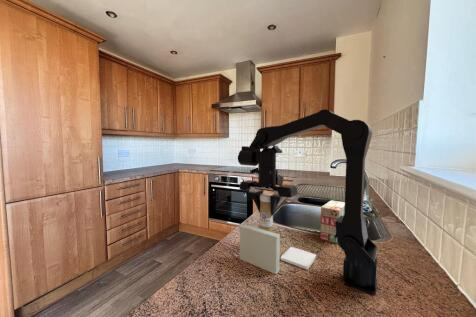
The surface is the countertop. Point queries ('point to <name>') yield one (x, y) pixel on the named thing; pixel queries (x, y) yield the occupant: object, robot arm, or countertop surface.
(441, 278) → the countertop surface
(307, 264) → the tile pad
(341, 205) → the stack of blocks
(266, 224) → the seasoning jar
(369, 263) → the robot arm
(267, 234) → the pale green board
